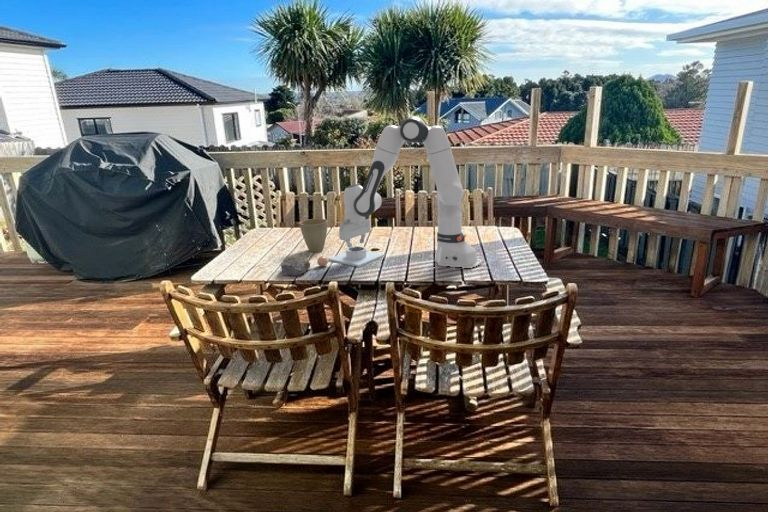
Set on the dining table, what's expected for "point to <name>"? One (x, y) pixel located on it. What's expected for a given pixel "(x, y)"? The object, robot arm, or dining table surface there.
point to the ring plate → (356, 262)
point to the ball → (322, 261)
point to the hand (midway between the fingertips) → (355, 244)
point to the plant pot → (314, 233)
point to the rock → (294, 266)
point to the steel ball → (356, 249)
